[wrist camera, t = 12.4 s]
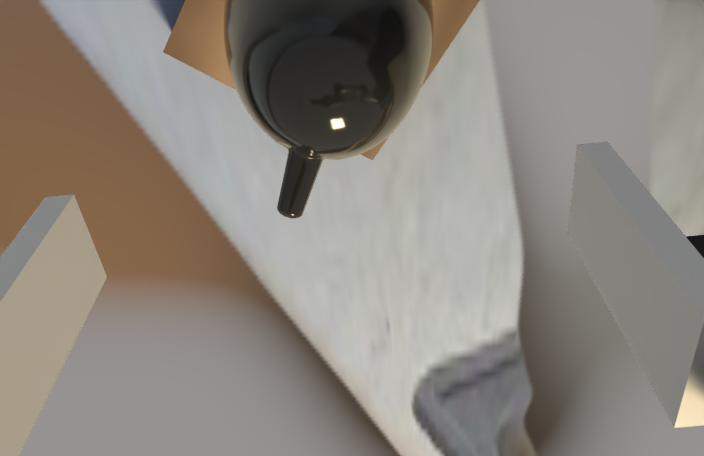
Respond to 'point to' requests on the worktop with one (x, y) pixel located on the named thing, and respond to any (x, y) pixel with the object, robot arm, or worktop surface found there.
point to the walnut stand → (209, 49)
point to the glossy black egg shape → (326, 76)
